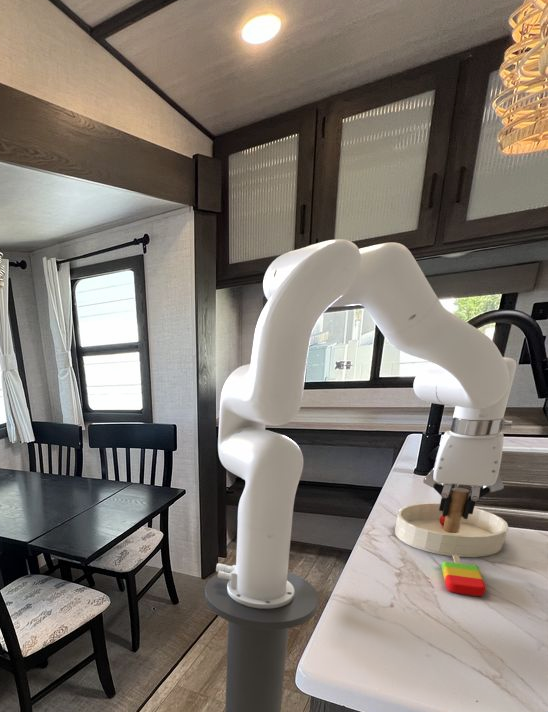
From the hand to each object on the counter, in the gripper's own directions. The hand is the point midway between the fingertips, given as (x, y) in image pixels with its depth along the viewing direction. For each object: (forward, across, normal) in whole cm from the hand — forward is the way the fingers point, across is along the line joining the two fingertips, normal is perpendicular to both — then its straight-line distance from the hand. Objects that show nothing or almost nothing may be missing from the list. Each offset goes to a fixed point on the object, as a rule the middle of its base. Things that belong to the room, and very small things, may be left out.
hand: (454, 514), depth 96 cm
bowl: (+7, 0, -4) cm, 8 cm away
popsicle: (+7, -2, +14) cm, 16 cm away
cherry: (+5, 0, -9) cm, 10 cm away
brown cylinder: (+4, 0, 0) cm, 4 cm away
